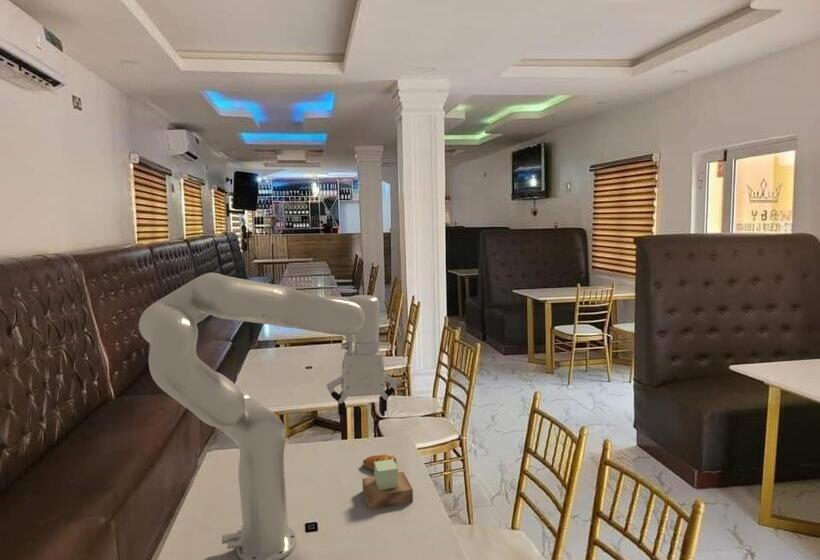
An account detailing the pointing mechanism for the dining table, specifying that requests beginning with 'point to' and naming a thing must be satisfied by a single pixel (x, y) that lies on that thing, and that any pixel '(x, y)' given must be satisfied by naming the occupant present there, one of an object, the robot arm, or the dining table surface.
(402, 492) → the walnut block
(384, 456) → the pastry
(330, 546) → the dining table surface
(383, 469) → the green cube
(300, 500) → the dining table surface
